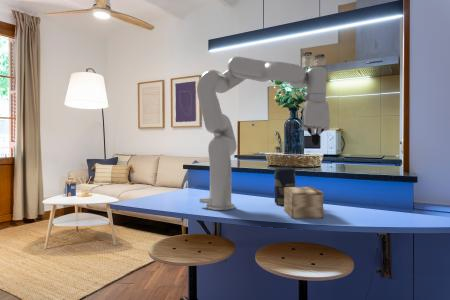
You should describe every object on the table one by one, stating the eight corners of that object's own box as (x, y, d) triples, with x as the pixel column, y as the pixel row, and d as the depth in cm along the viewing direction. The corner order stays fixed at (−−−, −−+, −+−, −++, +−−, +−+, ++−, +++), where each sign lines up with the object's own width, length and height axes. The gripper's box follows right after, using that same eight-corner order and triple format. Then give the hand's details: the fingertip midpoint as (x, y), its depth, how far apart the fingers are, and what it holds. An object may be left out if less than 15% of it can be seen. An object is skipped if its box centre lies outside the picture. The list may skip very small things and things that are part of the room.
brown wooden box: (291, 218, 124) (292, 195, 124) (284, 210, 138) (284, 189, 138) (322, 218, 124) (323, 194, 124) (312, 210, 138) (312, 189, 138)
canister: (295, 206, 145) (295, 166, 145) (273, 206, 147) (274, 166, 147) (294, 202, 155) (295, 165, 154) (274, 202, 157) (275, 164, 156)
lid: (292, 194, 124) (292, 192, 124) (284, 189, 138) (284, 187, 138) (323, 194, 124) (323, 192, 124) (312, 188, 138) (312, 186, 138)
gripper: (299, 97, 126) (298, 144, 126) (338, 98, 126) (336, 145, 127) (295, 99, 133) (294, 144, 134) (331, 100, 134) (329, 145, 134)
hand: (314, 144), depth 130 cm, fingers closed
